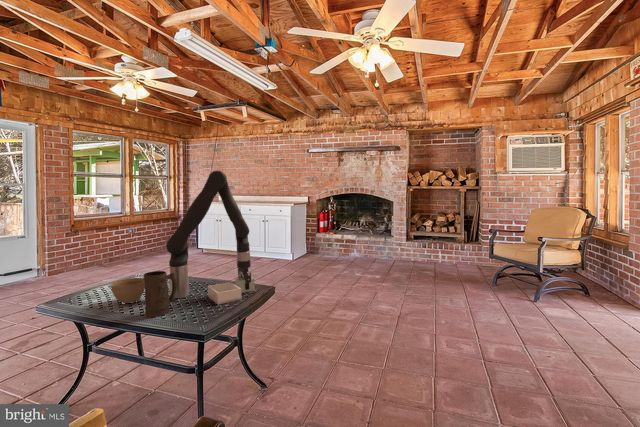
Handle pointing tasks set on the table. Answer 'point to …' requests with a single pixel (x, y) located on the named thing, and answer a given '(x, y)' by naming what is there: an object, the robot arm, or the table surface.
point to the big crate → (224, 293)
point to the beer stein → (158, 293)
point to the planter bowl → (128, 289)
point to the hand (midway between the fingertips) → (244, 287)
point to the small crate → (241, 283)
